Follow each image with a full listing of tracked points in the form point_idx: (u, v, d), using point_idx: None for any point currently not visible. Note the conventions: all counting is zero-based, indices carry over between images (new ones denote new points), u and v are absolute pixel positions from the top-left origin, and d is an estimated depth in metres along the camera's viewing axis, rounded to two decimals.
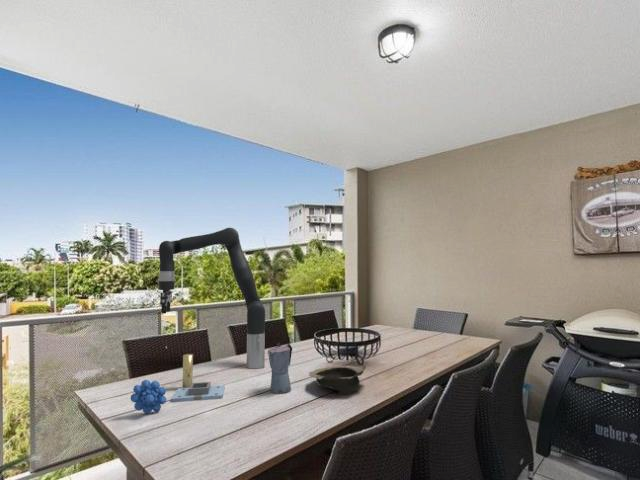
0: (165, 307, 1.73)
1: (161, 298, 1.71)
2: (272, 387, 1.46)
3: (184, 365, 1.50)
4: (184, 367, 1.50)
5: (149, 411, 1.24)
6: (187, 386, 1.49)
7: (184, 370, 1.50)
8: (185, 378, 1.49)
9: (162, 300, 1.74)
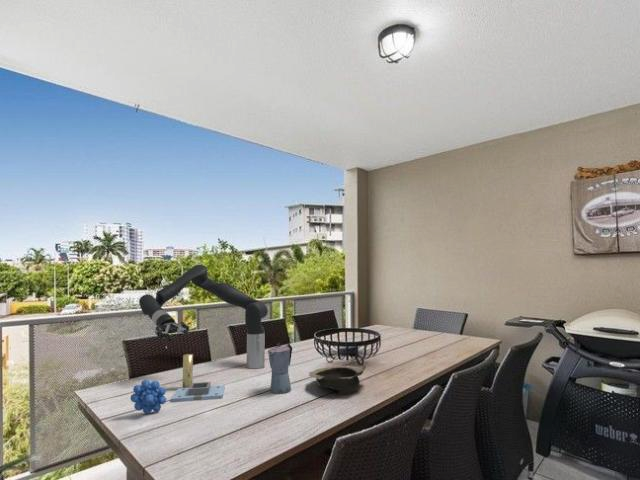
0: None
1: None
2: (272, 387, 1.46)
3: (184, 365, 1.50)
4: (184, 367, 1.50)
5: (149, 411, 1.24)
6: (187, 386, 1.49)
7: (184, 370, 1.50)
8: (185, 378, 1.49)
9: None
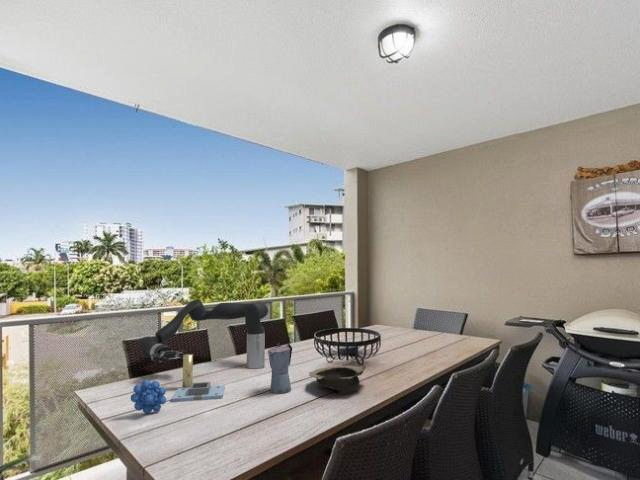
0: None
1: None
2: (272, 387, 1.46)
3: (184, 365, 1.50)
4: (184, 367, 1.50)
5: (149, 411, 1.24)
6: (187, 386, 1.49)
7: (184, 370, 1.50)
8: (185, 378, 1.49)
9: None
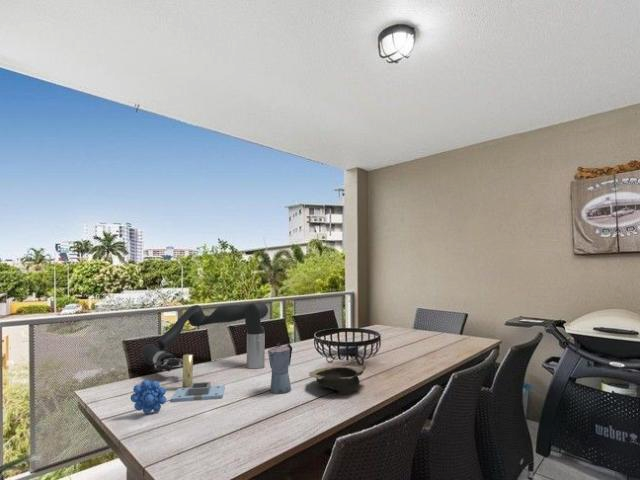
0: None
1: None
2: (272, 387, 1.46)
3: (184, 365, 1.50)
4: (184, 367, 1.50)
5: (149, 411, 1.24)
6: (187, 386, 1.49)
7: (184, 370, 1.50)
8: (185, 378, 1.50)
9: (181, 360, 1.64)
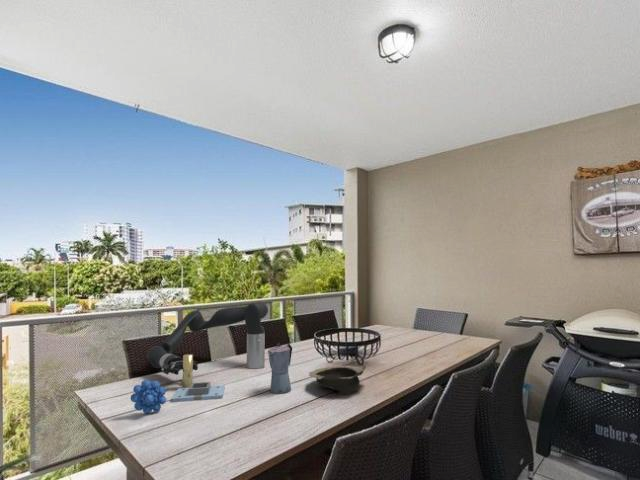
0: None
1: None
2: (272, 387, 1.46)
3: (184, 365, 1.50)
4: (184, 367, 1.50)
5: (149, 411, 1.24)
6: (187, 386, 1.49)
7: (184, 370, 1.50)
8: (185, 378, 1.49)
9: None
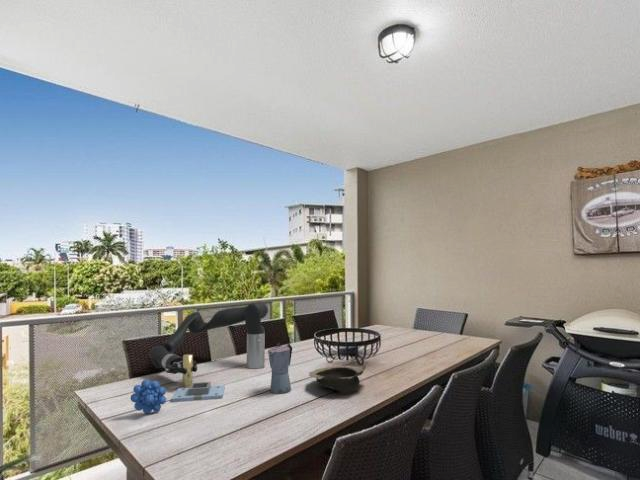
0: None
1: (195, 363, 1.59)
2: (272, 387, 1.46)
3: (184, 365, 1.50)
4: (184, 367, 1.50)
5: (149, 411, 1.24)
6: (187, 386, 1.49)
7: None
8: (185, 378, 1.49)
9: None
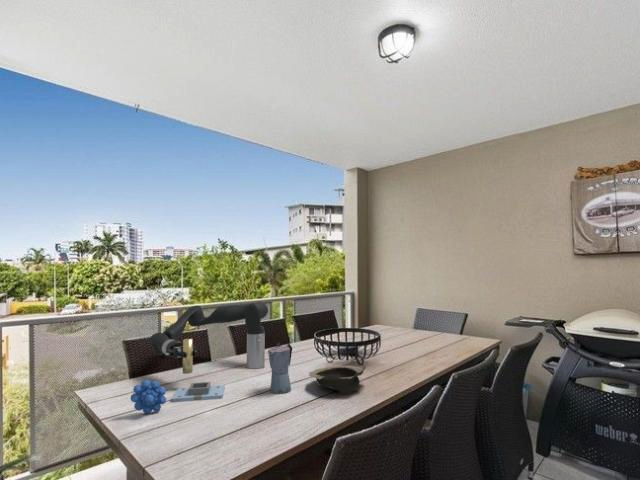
0: None
1: None
2: (272, 387, 1.46)
3: (184, 349, 1.50)
4: (184, 351, 1.50)
5: (149, 411, 1.24)
6: (187, 370, 1.50)
7: None
8: (185, 361, 1.50)
9: None
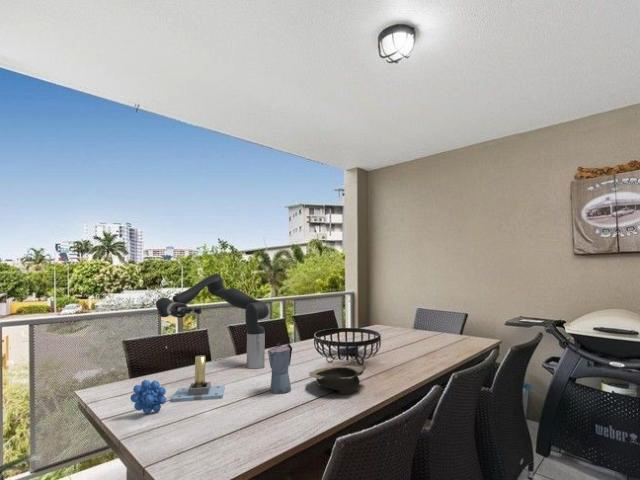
0: None
1: None
2: (272, 387, 1.46)
3: (196, 367, 1.43)
4: (196, 369, 1.43)
5: (149, 411, 1.24)
6: None
7: (196, 372, 1.42)
8: (197, 380, 1.42)
9: None
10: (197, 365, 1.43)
